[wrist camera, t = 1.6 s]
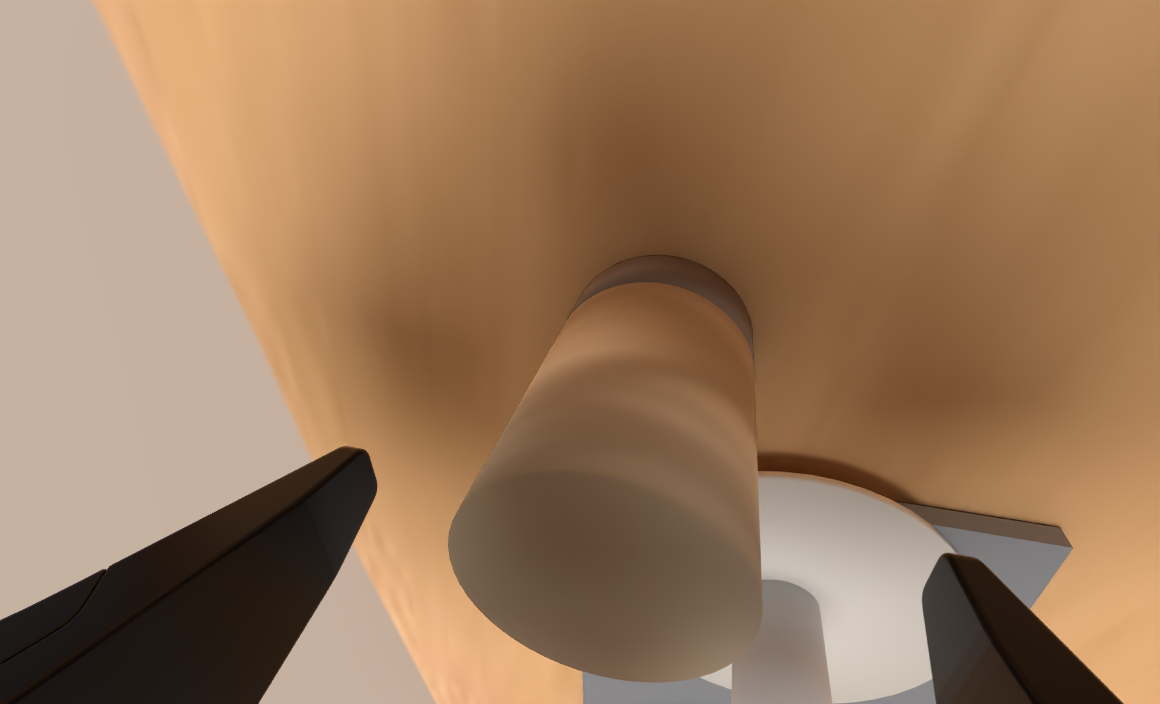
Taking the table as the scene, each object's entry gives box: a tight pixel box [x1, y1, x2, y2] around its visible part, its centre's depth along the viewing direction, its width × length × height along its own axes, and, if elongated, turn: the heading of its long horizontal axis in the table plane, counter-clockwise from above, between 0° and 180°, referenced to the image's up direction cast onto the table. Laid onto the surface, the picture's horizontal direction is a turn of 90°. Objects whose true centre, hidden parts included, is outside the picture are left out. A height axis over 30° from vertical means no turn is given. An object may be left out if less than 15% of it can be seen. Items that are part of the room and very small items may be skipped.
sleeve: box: [448, 255, 763, 683], centre depth 10 cm, size 4×4×7 cm
